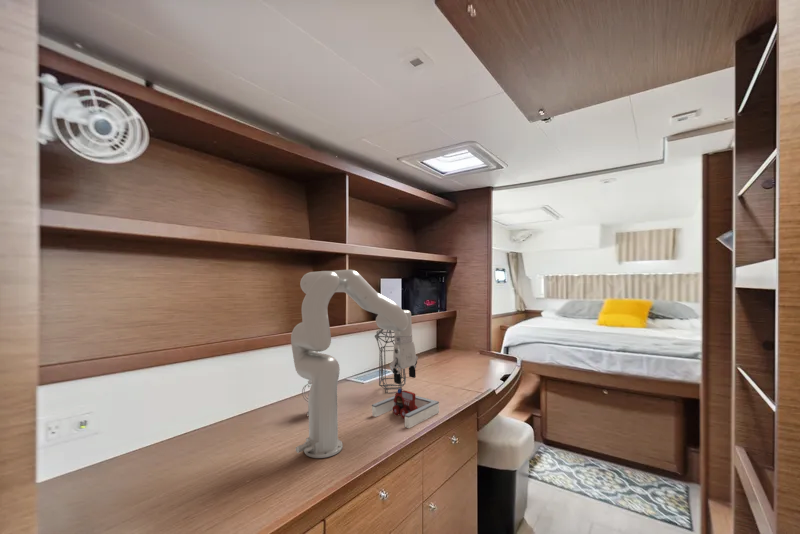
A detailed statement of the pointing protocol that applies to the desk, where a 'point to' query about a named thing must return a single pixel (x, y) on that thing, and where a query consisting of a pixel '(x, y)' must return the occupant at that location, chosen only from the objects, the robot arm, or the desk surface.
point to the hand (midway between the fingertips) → (405, 380)
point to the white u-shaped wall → (423, 412)
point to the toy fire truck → (404, 403)
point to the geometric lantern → (384, 361)
